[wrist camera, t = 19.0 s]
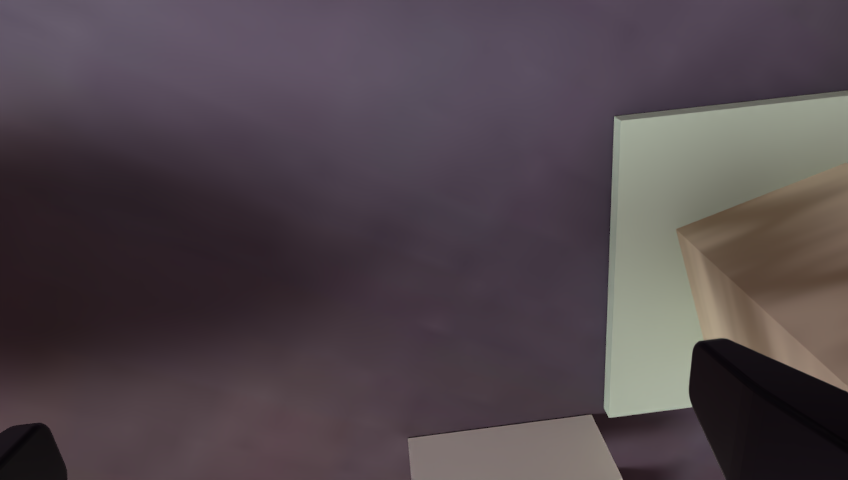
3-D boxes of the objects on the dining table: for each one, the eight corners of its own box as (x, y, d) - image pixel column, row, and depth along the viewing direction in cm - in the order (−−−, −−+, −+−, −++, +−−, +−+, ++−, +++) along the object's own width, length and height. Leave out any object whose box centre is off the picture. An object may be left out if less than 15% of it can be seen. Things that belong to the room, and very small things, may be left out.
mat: (603, 408, 26) (608, 418, 26) (614, 116, 21) (620, 120, 21) (889, 370, 27) (900, 379, 26) (967, 77, 22) (982, 80, 21)
